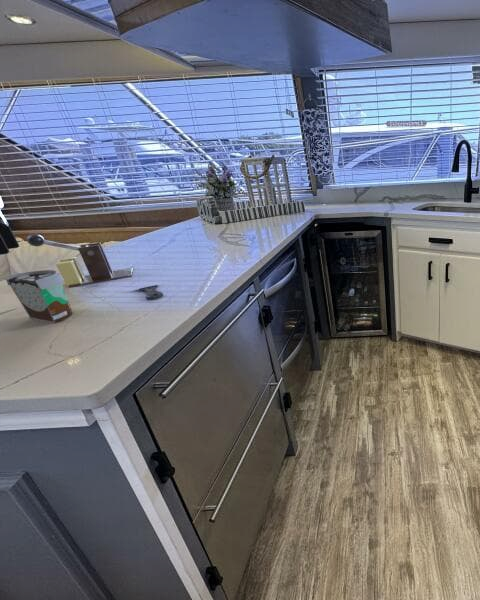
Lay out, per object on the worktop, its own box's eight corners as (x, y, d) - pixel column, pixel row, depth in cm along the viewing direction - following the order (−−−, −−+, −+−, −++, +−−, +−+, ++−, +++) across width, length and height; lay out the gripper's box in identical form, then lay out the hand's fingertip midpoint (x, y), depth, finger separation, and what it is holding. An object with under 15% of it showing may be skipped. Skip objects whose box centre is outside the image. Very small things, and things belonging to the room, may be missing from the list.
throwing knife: (145, 301, 79) (144, 298, 79) (134, 283, 93) (133, 281, 92) (166, 295, 82) (165, 293, 82) (152, 279, 95) (151, 277, 95)
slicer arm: (24, 245, 84) (26, 233, 83) (27, 243, 86) (29, 232, 86) (96, 258, 93) (99, 248, 92) (98, 256, 95) (100, 246, 95)
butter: (66, 285, 89) (55, 264, 86) (71, 278, 95) (61, 258, 92) (80, 283, 91) (70, 262, 88) (84, 276, 97) (75, 256, 94)
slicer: (70, 290, 89) (51, 252, 85) (76, 281, 96) (59, 246, 92) (133, 279, 96) (119, 243, 92) (134, 271, 104) (121, 238, 100)
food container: (92, 312, 75) (73, 271, 71) (59, 324, 69) (36, 280, 65) (60, 306, 78) (40, 267, 74) (26, 317, 73) (3, 276, 69)
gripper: (-69, 143, 55) (-12, 247, 62) (-135, 135, 42) (-52, 266, 50) (-5, 143, 59) (42, 240, 66) (-47, 135, 46) (17, 257, 54)
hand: (1, 250), depth 58 cm, fingers open, 5 cm apart
